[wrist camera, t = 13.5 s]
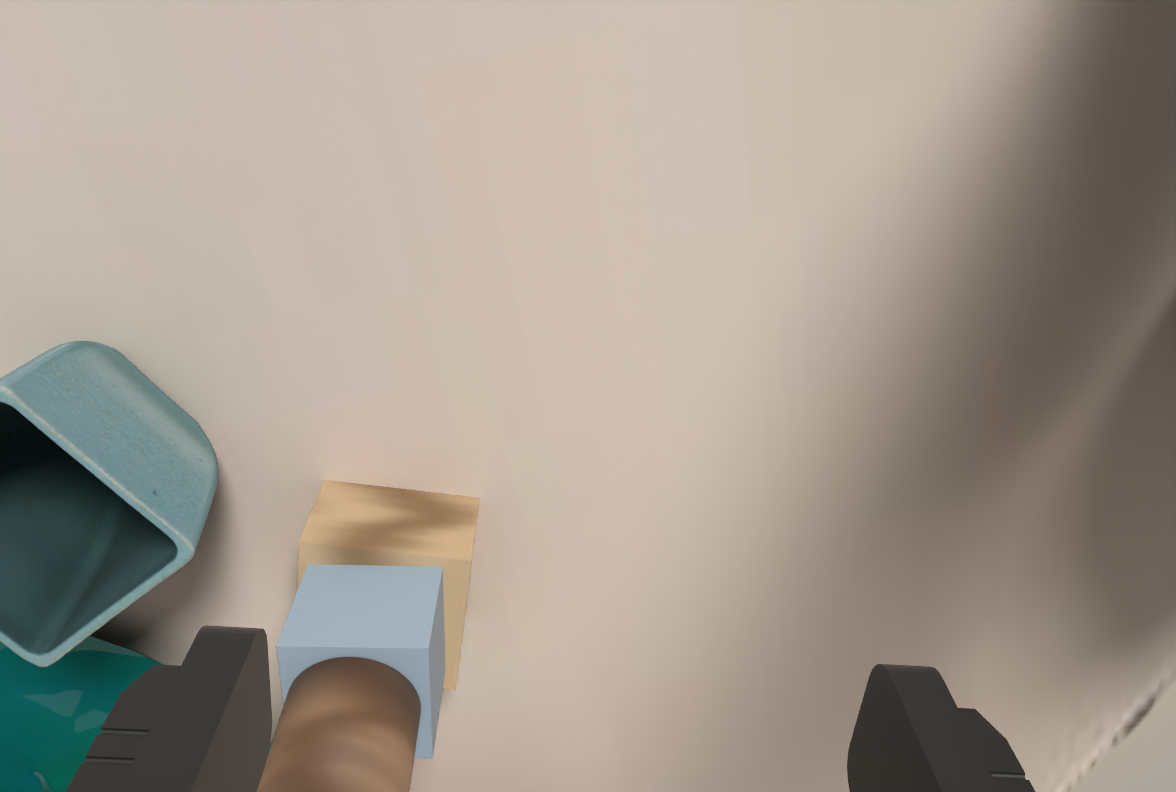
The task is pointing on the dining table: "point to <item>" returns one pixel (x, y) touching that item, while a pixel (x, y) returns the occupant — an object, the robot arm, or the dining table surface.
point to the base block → (398, 542)
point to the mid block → (372, 628)
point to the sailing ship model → (58, 711)
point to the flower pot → (91, 495)
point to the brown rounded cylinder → (345, 730)
